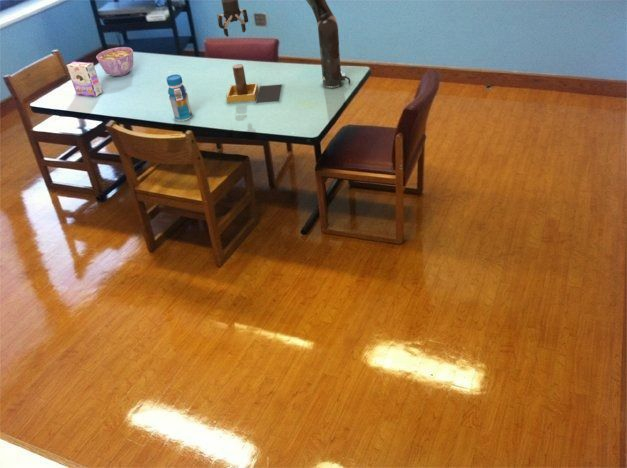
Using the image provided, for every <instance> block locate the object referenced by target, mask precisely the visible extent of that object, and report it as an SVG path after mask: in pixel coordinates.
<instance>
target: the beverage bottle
mask: <svg viewBox="0 0 627 468" xmlns="http://www.w3.org/2000/svg"><path fill="white" fill-rule="evenodd" d="M182 77H183V76H182V75H181V74H178V73H177V74H170V75H168V76H167V77H166V83H167V85H168V90H167V93H168V98H169V101H170V106H171V109H172V113H173V117H174V119H175V121H178V122H184V121H187V120H190V119H191V118H192V117H193V113H192V108H191V105H190V101H189V95H188V93H187V88H186V86H185V85H184V84H183V78H182Z"/></svg>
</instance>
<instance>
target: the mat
mask: <svg viewBox="0 0 627 468" xmlns="http://www.w3.org/2000/svg"><path fill="white" fill-rule="evenodd" d="M282 86H283V84H273V85H272V84H271V85H261V86H260V87H259V88H258V92H257V96H256V100H255V103H256V104H262V103H275V102H279V101H280V97H281V91H282Z"/></svg>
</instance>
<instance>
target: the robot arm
mask: <svg viewBox="0 0 627 468" xmlns="http://www.w3.org/2000/svg"><path fill="white" fill-rule="evenodd" d="M305 1H306V2H307V4H308V5H309V6H310V8H311V10H312V12H313V14H314V18H315V20H316V24H317V32H318V35H317V36H318V43H319V44H318V45H319V55H320V65H321V66H320V67H321V80H322V86H323V88H325V89H326V88H327V89H335V88H339V87H343V82H344V81H345V82H346V79H347V80H348V84H351V79H350V77H348V76H347V75H346V73H345V72H342V66H341V54H340V53H341V52H340V38H339V37H340V35H339V25H338V21H337V18H336V17H335V15H334V13H333V11H332V9H331V7H329V4H328V3H327V0H305ZM220 2H221V5H222V12H223V13H222V14H217V22H218V23H217V24H218V28H220V29H223V34H224V36H225V37H230V36H229V31H228V26H229V25H230V23H234V22H238V21H239V22H240V27H241V32H242V33H246V31H247V27H246V24H247V23H249V17H248V12H247V9H245V8H241V9H240V5H239V0H221V1H220ZM241 14H242V15H243V16H242V17H243V19H242V18H241V17H240V16H241ZM223 19H224V21H223Z"/></svg>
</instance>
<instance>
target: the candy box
mask: <svg viewBox="0 0 627 468" xmlns="http://www.w3.org/2000/svg"><path fill="white" fill-rule="evenodd" d="M65 66H66V69H67V71H68V75H69V77H70V80H71V83H72V85H73V88H74V90H75V94H76V95H77V96H85V97H95V98H96V97H98V96H100V95H101V94H103V90H102V86H101V83H100V80H99V77H98V74H97V71H96V67H95V65H94V62H84V61H83V62H82V61H71V62H70V63H68V64H66V65H65Z"/></svg>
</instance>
